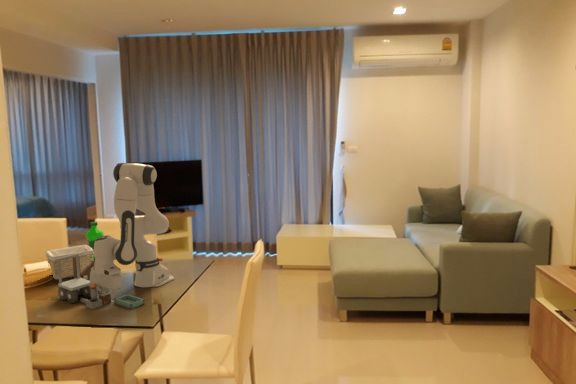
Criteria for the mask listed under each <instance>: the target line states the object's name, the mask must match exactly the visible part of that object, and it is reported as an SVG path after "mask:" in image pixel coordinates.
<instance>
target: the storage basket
mask: <svg viewBox="0 0 576 384" xmlns="http://www.w3.org/2000/svg"><path fill="white" fill-rule="evenodd" d="M45 254H46V255H45V256H46V259H47V263H49V264H50V266H51V270H52V275H53V277H52V278H53V279H54V280H59V275H58V261H57V259H58V258H62V257H66V256H71V255H75V254H79V256H80V270H81V273H82V272H83V271H84V270H85V269H86V268H87V266H88V265H89V264H90V263H91V262H92V261H93V257H94V250H93V249H92V248H91V247H89V245H87V244H82V245H75V246H69V247H63V248H62V247H61V248H56V249H49V250H46V251H45ZM60 261H61V276H62V279H66V278H67V279H68V278H71V277H74V274H73V258H68V259H64V260H60ZM49 264H48V265H49Z"/></svg>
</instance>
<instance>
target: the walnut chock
mask: <svg viewBox="0 0 576 384" xmlns="http://www.w3.org/2000/svg"><path fill="white" fill-rule="evenodd" d="M109 294H111V292H110V293H109V292H102V294H98V299H101V300H102V305H103V304H105V305H108V304H110V303H112V298H111V297H109Z"/></svg>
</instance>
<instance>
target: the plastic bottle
mask: <svg viewBox="0 0 576 384" xmlns="http://www.w3.org/2000/svg"><path fill="white" fill-rule="evenodd" d="M89 224H90V227H91V228H90V229H89V230H87V232H86V233H85V237H86V239H87V241H88V246H89V247H91V248H92V249H93V250H94V243H95V240H96V239H97V238H99V237H101V236H104V232H103V230H101V229H100V228H98V221H91V222H89ZM93 261H94V262H95V256H94V257H93Z"/></svg>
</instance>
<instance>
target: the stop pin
mask: <svg viewBox="0 0 576 384" xmlns="http://www.w3.org/2000/svg"><path fill="white" fill-rule="evenodd" d="M89 287H90V290H91V297H90V299H91V302H95V301H97V298H98V297H97V296H98V294H97V290H96V287H97V284H90V285H89Z"/></svg>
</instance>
